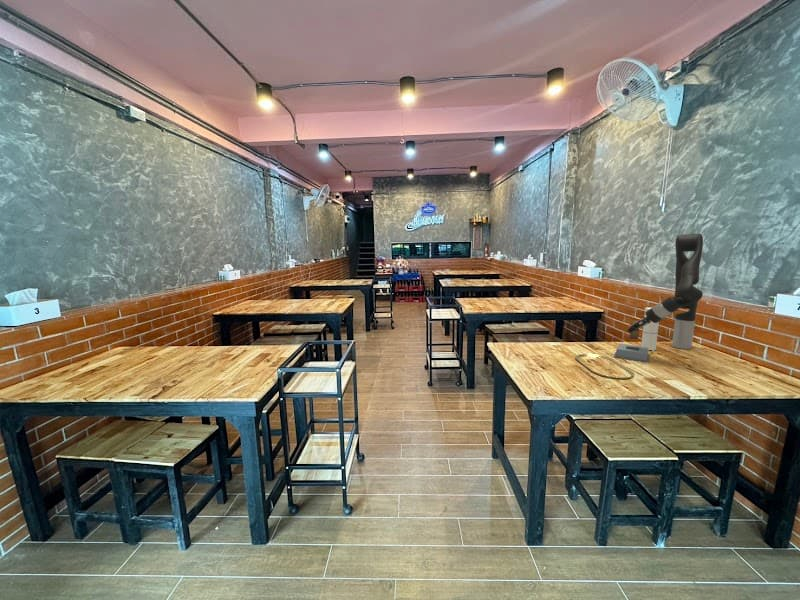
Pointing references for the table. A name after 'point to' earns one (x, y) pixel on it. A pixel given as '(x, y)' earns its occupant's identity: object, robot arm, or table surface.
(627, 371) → the rubber band
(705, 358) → the table surface
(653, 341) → the tall white block
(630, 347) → the socket block
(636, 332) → the walnut peg
